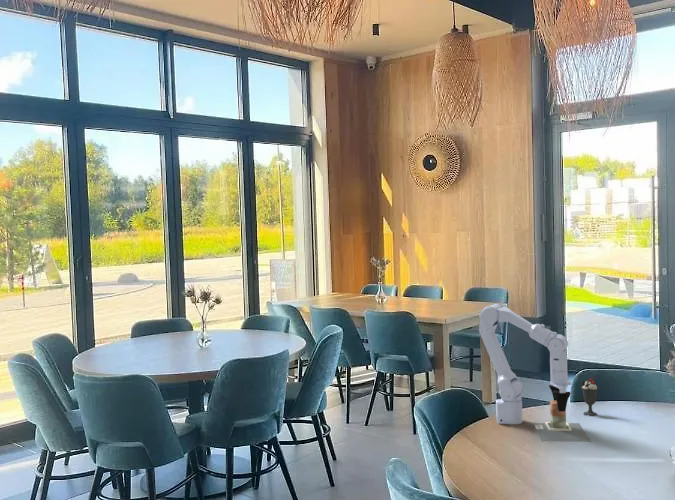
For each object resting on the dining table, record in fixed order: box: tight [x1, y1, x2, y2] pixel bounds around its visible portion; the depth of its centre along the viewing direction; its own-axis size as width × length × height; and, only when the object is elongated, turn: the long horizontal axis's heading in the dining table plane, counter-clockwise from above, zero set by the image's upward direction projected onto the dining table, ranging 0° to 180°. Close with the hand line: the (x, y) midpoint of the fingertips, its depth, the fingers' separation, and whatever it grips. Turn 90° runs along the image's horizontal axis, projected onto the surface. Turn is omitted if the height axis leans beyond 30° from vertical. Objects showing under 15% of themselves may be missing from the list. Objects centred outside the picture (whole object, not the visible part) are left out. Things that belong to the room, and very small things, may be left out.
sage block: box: [549, 413, 567, 429], centre depth 231 cm, size 4×4×4 cm
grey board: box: [532, 421, 592, 443], centre depth 226 cm, size 16×20×1 cm
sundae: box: [580, 375, 600, 417], centre depth 247 cm, size 7×7×15 cm
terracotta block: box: [549, 399, 567, 418], centre depth 231 cm, size 4×4×4 cm
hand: (560, 408), depth 231 cm, fingers open, 7 cm apart
